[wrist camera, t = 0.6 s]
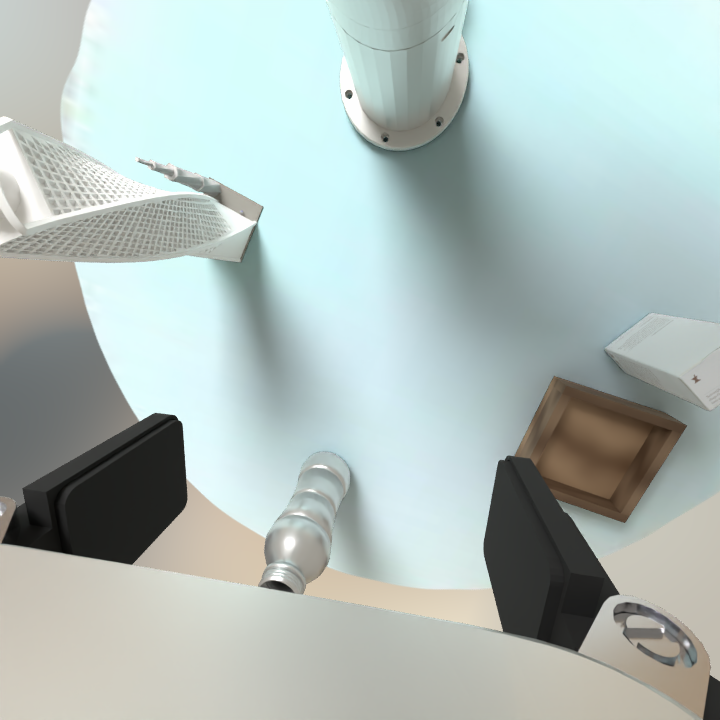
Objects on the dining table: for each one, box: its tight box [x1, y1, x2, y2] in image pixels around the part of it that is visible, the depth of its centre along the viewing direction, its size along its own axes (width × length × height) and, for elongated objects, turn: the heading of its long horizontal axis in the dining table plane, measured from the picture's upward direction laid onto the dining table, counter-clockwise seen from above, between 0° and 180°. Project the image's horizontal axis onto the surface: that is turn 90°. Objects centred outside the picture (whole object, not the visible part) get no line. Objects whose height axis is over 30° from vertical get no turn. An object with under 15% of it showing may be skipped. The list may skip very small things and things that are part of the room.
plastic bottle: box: [258, 451, 350, 595], centre depth 40 cm, size 6×7×20 cm
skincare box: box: [604, 313, 720, 411], centre depth 34 cm, size 6×4×12 cm
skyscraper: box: [0, 117, 263, 263], centre depth 30 cm, size 8×8×28 cm
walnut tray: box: [515, 376, 687, 523], centre depth 42 cm, size 13×13×4 cm
